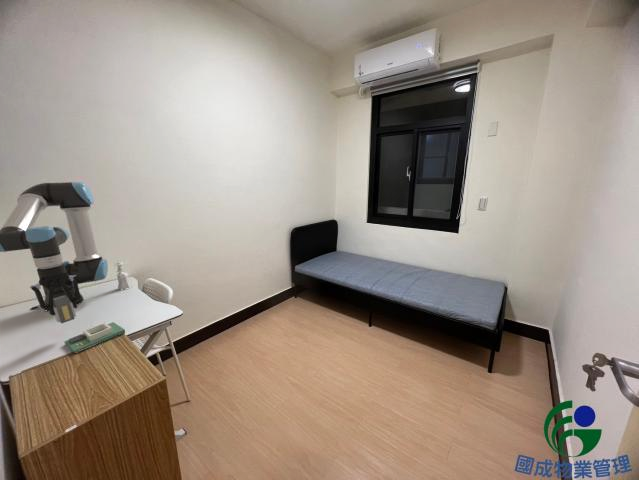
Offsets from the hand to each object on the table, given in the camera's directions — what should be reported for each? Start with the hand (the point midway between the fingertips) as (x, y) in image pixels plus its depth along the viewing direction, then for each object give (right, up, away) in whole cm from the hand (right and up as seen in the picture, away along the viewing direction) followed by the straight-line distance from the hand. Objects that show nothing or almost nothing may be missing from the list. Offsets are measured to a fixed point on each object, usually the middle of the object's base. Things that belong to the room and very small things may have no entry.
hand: (66, 318), depth 104 cm
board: (+13, -8, -1) cm, 16 cm away
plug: (0, -1, 0) cm, 1 cm away
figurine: (-16, +3, +52) cm, 54 cm away
